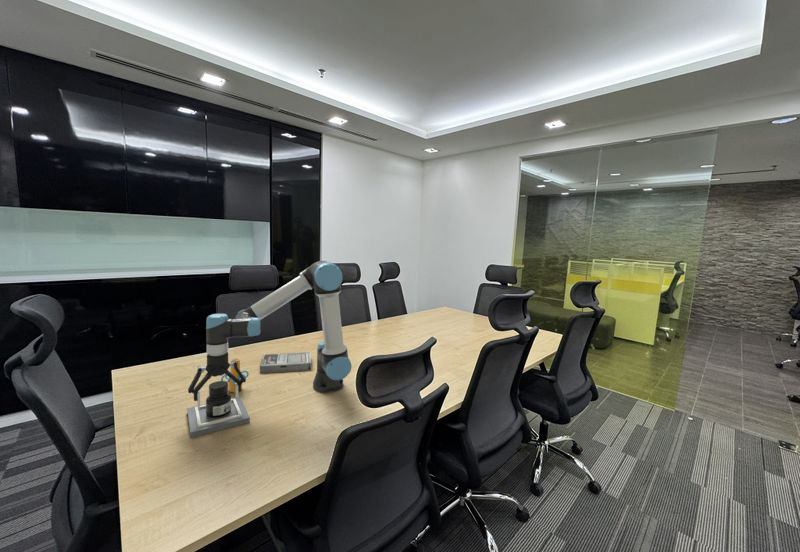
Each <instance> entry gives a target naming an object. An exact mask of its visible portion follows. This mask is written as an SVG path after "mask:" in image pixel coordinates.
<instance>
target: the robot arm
mask: <svg viewBox="0 0 800 552" xmlns="http://www.w3.org/2000/svg"><path fill="white" fill-rule="evenodd" d="M343 279H344V278H343V273H342V270H341V269H340V268H339V266H338V265H337V264H335V263H333V262H330V261H326V260H318V261H316V262H314V263H312V264H311V265H310V266H308V267H306V268H305V269H304V270H302V271H301V272H299V275H298V276H297V277H295V278H294V279H292V280H291V281H288V282H287V283H286V284H284V285H283V286H281V287H279V288H278V289H276V290H274V291H273V292H271V293H270V294H268V295H266V296H265V297H263V298H261V299H260V300H259V301H256V302H255V303H254V304H252V305H251V306H248V307H247V308H245V309H242V310H240V311H238V312H237V314H236V316H235V317H234V318H229V316H228V314H227V313H212V314H210V315H208V316H207V317H206V327H205V332H206V333H205V335H206V366H197V370H196V371H197V372H196V374H194V375H195V376H194V378H193V379H192V381H191V383H190V385H189V387H188V389H187V393H188V394H193V401H194V402H196V403H197V404H196V406H197V408H198V409H200V406H201V392H200V390H201V389H202V388H203V387H204V386H205V384H206V383H207V382H208V380H210V379H211V378H212V377H213V378H214V377H218V376H221V377H222V376H223V375H225V374H226V375H227V377H228V378H229V377H230V378H231V379H232V380H233V381H235V382H236V383H235V392H234V394H235V395H234V398H235V399H236V401H238V397H239V392H240V393H241V391H242V390H241V384H242V385H243V383H246V382H247V379H246V380H245V378H244V376H243V375H242V374H243V373H241V372H242V371H241V369H240V370H239V368H238V367H237V362H236V361H233V362H232V363H231V362H229V352H228V351H229V339H231V338H245V337H255V336H259V335H260V334H261V320H263V319H264V318H265V317H267V316H269V315H271V314H272V313H274V312H276V311H277V310H278V309H280V308H281V307H283V306H284V305H287V303H290V302H291V301H292V300H294V299H295V298H297V297H298V296H301V294H303V293H305V292H306V291H308V290H311V291H312V290H313V289H314V295H316V296H317V297H318V299H319V307H320V308H319V309H320V317H321V325H322V333H323V334H322V335H323V341H321V342H319V343H318V344H317V347H316V350H317V351H316V354H317V355H316V373H315V375H314V379H313V382H312V388H313V390H315V391H316V392H319V393H333V392H337V391H340V390H341V389H342V388H343V387H344V379H345V378H346V377H348V375H349V374H350V373H351V371H352V369H353V368H352V367H353V364H352V362H351V360H350V358H349V353H348V352H349V350H348V346H347V345H345V344H344V337H343V327H342V318H341V317H342V316H341V308H340V298H339V294H340V293H341V292H342V285H341V284H342V282H343ZM231 366H232V368H234V369H235V370H236V372H237V373H238V375H239V377H240V378H241V379H240V380H239V379H238V378H237V377H235V376H234V375H233V374H232V373H231V371H230V372H229V368H231ZM205 371H206V372H207V373H206V374H205V375H204V377H202V379H201V380H200V381H199V379H200V377H201V376H202V374H203V373H204V372H205ZM198 381H199V382H198Z"/></svg>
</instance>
